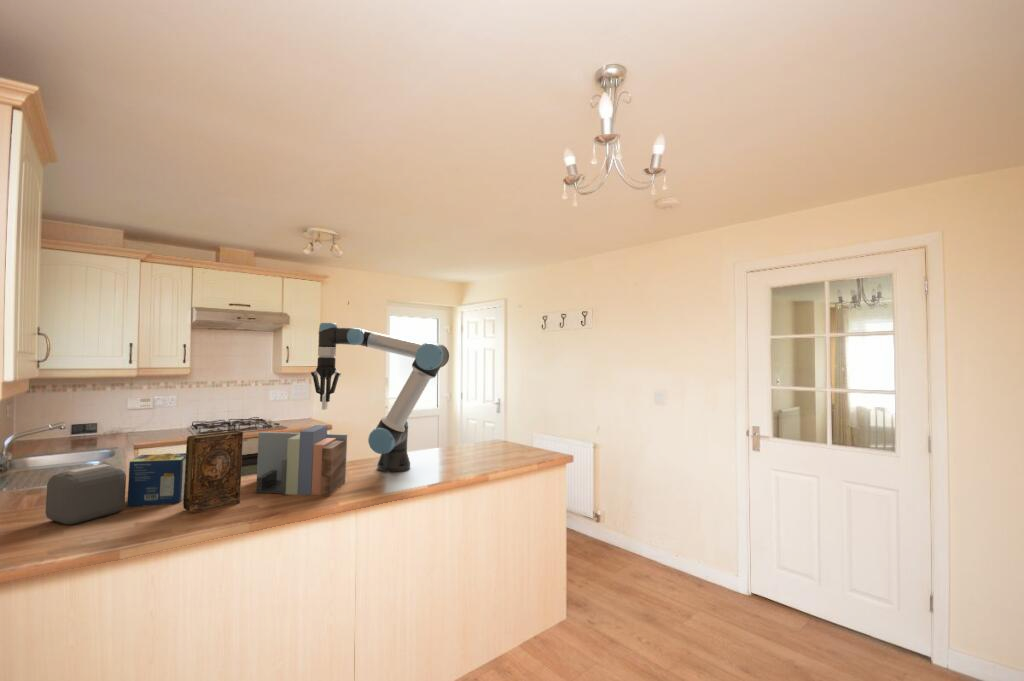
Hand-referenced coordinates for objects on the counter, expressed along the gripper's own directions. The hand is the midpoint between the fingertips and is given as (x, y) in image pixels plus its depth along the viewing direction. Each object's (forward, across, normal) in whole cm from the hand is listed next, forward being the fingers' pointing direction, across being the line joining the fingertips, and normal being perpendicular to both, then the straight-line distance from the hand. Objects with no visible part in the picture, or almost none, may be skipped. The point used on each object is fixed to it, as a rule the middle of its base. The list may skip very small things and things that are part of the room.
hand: (324, 409), depth 210 cm
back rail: (+28, +3, +15) cm, 32 cm away
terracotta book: (+28, -10, +24) cm, 39 cm away
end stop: (+28, -13, +24) cm, 40 cm away
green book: (+28, 0, +24) cm, 38 cm away
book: (+29, +20, +47) cm, 59 cm away
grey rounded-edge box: (+29, +52, +59) cm, 84 cm away
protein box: (+29, +42, +42) cm, 66 cm away
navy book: (+28, -5, +24) cm, 38 cm away
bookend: (+28, +8, +25) cm, 38 cm away
